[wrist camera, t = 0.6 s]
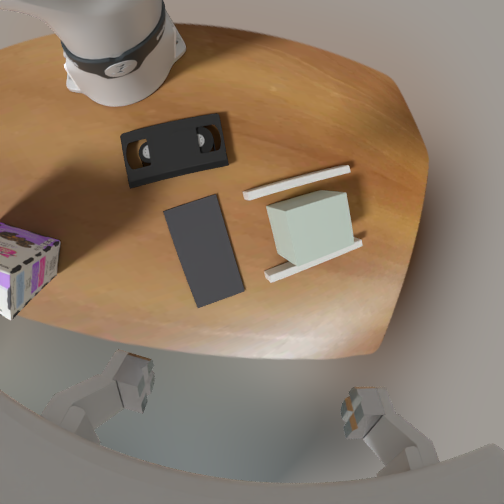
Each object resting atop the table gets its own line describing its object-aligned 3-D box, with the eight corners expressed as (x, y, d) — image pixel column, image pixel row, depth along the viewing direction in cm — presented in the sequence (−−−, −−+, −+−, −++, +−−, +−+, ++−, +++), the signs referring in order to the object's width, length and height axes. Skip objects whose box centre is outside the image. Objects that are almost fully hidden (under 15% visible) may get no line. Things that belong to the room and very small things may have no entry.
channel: (163, 211, 39) (163, 213, 36) (339, 161, 45) (348, 160, 42) (197, 307, 44) (199, 314, 42) (354, 246, 50) (362, 250, 48)
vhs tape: (216, 115, 38) (218, 112, 36) (225, 166, 40) (228, 165, 38) (122, 136, 35) (119, 134, 33) (131, 188, 37) (129, 188, 35)
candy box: (62, 239, 35) (11, 273, 20) (57, 275, 36) (12, 323, 21) (-3, 219, 30) (-64, 241, 15) (-6, 254, 31) (-62, 287, 16)
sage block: (265, 206, 43) (285, 211, 36) (320, 189, 45) (346, 192, 38) (277, 253, 46) (297, 266, 39) (329, 234, 48) (354, 244, 41)
